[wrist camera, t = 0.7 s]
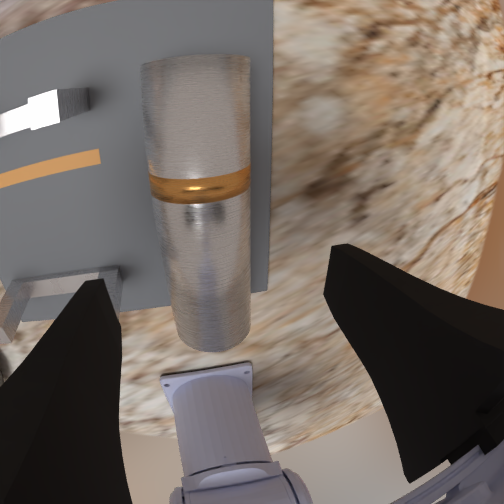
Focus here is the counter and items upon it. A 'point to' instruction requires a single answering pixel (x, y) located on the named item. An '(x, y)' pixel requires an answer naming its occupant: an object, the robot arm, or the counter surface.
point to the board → (115, 141)
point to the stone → (1, 379)
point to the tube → (202, 191)
